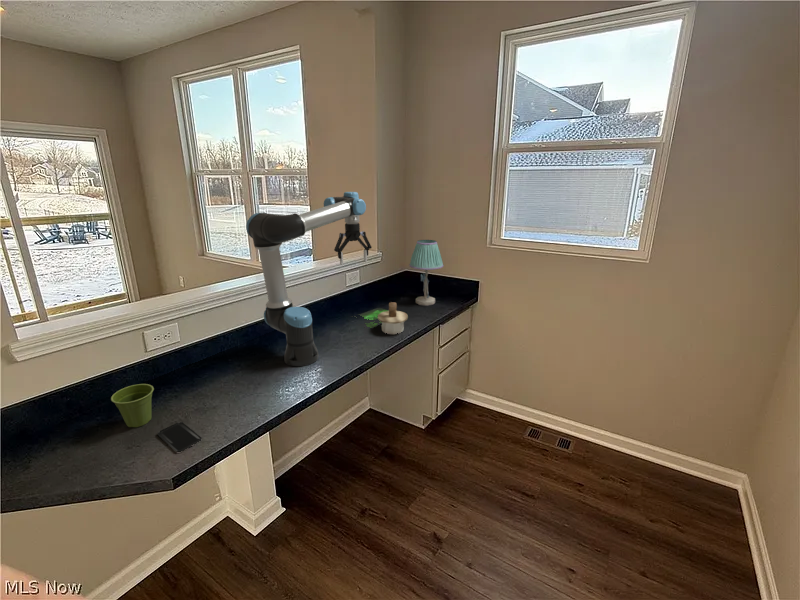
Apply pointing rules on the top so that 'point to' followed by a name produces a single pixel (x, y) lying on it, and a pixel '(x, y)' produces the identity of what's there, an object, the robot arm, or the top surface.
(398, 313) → the lid
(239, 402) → the top surface
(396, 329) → the cup
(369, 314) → the mouse mat
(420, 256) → the table lamp
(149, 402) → the plant pot
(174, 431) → the phone
